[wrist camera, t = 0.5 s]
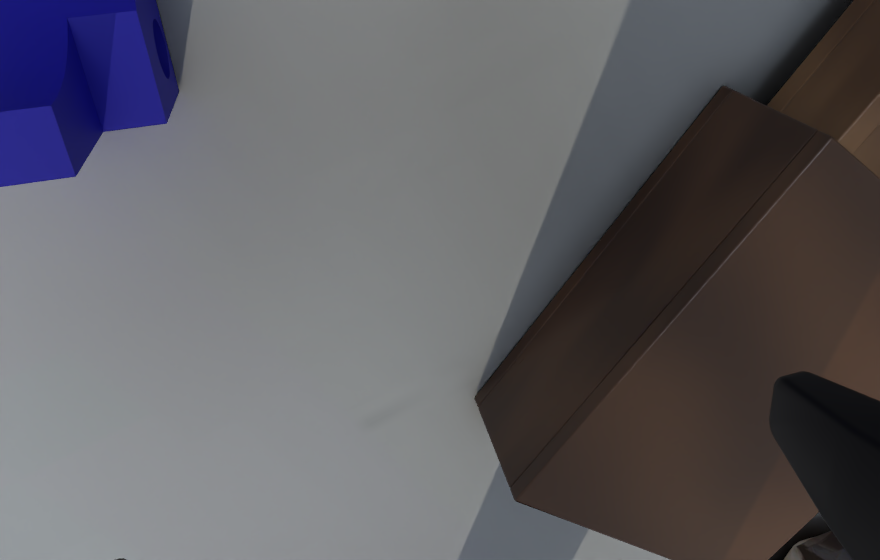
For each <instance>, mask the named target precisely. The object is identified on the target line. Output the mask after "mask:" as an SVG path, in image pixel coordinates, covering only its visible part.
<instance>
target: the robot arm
mask: <svg viewBox="0 0 880 560" xmlns="http://www.w3.org/2000/svg"><path fill="white" fill-rule="evenodd" d="M769 425H770V429H771V432H772V434H773V437H774V438H775V440H776V442H777V443H778V445H779V447H780V448H781V450H782V452H783V453H784V455H785V457H786V458H787V460H788V461H789V463H790V465H791V466H792V468H793V470H794V471H795V473H796V475H797V476H798V478H799V480H800V481H801V483H802V485H803V486H804V488H805V489H806V491H807V493H808V494H809V496H810V498H811V499H812V501H813V503H814V504H815V506H816V508H817V509H818V511H819V512H820V514H821V516H822V517H823V519H824V520H825V522H826V523H827V525H828V526H829V528H830V529H831V531H832V532H833V534H834V535H835V536H836V538H837V539H838V541H839V542H840V543H841V545H842V546H843V547H844V549H845V550H846V551H847V553H848V554H849V555H850V557H851V558H852V559H853V560H880V401H879V400H876V399H874V398H871V397H869V396H867V395H864V394H862V393H859V392H857V391H854V390H852V389H849V388H847V387H845V386H842V385H840V384H837V383H835V382H832V381H830V380H827V379H825V378H823V377H820V376H818V375H815V374H813V373H810V372H806V371H800V372H796V373H792V374H789V375H785V376H782V377H779V378H778V379H777V380H776V381H775V383H774V387H773V394H772V401H771V408H770V415H769ZM116 560H126V559H124V558H123V559H116Z"/></svg>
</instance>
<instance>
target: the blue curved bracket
mask: <svg viewBox="0 0 880 560" xmlns="http://www.w3.org/2000/svg"><path fill="white" fill-rule="evenodd" d="M178 93H179V89H178V85H177V81H176V77H175V73H174V69H173V65H172V61H171V57H170V54H169V50H168V46H167V42H166V38H165V34H164V30H163V26H162V22H161V18H160V14H159V10H158V7H157V3H156V0H0V187H3V186H10V185H18V184H25V183H32V182H39V181H47V180H54V179H61V178H68V177H76V175H77V174H78V172H79V170H80V169H81V167H82V166H83V164H84V162H85V161H86V159H87V157H88V156H89V154H90V153H91V151H92V149H93V148H94V146H95V144H96V143H97V141H98V139H99V138H100V136H101V135H102V133H103V132H105V131H113V130H120V129H128V128H136V127H143V126H151V125H159V124H166V123H167V122H168V119H169V117H170V114H171V111H172V109H173V106H174V104H175V101H176V98H177V96H178Z"/></svg>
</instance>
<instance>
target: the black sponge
mask: <svg viewBox="0 0 880 560" xmlns="http://www.w3.org/2000/svg"><path fill="white" fill-rule="evenodd" d="M784 560H853V559H852V558H851V557H850V555H849V554H848V553H847V551H846V550H845V549H844V547H843V546H842V545H841V543H840V542H839V541H838V539H837V538H836V536H835V535H834V534H833V532H831V531H829V532H827V533H824V534H821V535H819V536H816V537H813V538H808V539H806V540H802V541H799V542H798V543H796V544H795V545H794V546H793V547H792V548H791V550H790V551H789V553H788V554H787V556H786V557H785V559H784Z"/></svg>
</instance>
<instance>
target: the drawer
mask: <svg viewBox="0 0 880 560" xmlns="http://www.w3.org/2000/svg"><path fill="white" fill-rule="evenodd" d="M767 106H768V107H771V108H773V109H775V110H777V111H779V112H781V113H783V114H785V115H787V116H790V117H792V118H794V119H796V120H798V121H800V122H802V123H804V124H806V125H809V126H811V127H813V128H815V129H817V130H818V131H821V132H823V133H825V134H827V135H830V136H832V137H833V138H834V139H835V140H837V141H838V142H839V143H840V144H841V145H842V146H843V147H845V148H846V149H847V150H848V151H849V152H850V153H851V154H853V155H854V156H855V157H856V158H857V159H858V160H859V161H861V162H862V163H863V164H864V165H865V166H866V167H867V168H869V169H870V170H871V171H872V172H873V173H874V174H875V175H876V176H878V177H879V178H880V0H854V1H853V2H852V3H851V4H850V5H849V7H848V8H847V9H846V10H845V11H844V13H843V14H842V15H841V16H840V18H839V19H838V20H837V21H836V22H835V24H834V25H833V26H832V27H831V28H830V30H829V31H828V32H827V33H826V34H825V36H824V37H823V38H822V39H821V41H820V42H819V43H818V44H817V45H816V47H815V48H814V49H813V50H812V51H811V53H810V54H809V55H808V56H807V57H806V59H805V60H804V61H803V62H802V64H801V65H800V66H799V67H798V68H797V70H796V71H795V72H794V73H793V74H792V76H791V77H790V78H789V79H788V80H787V82H786V83H785V84H784V85H783V87H782V88H781V89H780V90H779V91H778V93H777V94H776V95H775V96H774V97H773V99H772V100H771V101H770V102H769V104H768V105H767Z"/></svg>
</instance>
